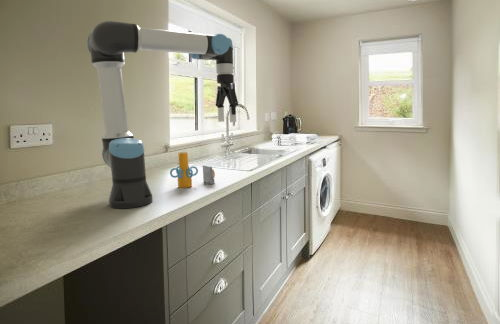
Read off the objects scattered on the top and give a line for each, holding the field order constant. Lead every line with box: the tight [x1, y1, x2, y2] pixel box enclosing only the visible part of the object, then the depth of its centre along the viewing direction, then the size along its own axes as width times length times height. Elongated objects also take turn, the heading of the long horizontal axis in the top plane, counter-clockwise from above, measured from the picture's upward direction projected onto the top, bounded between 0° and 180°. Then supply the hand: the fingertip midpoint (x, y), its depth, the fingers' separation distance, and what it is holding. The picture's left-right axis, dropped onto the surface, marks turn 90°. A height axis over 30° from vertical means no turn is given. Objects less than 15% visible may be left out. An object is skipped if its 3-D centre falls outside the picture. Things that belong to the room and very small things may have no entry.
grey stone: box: [202, 164, 216, 186], centre depth 159 cm, size 3×8×8 cm, turn 31°
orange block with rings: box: [169, 151, 199, 189], centre depth 153 cm, size 12×10×15 cm
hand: (226, 122), depth 160 cm, fingers open, 13 cm apart
